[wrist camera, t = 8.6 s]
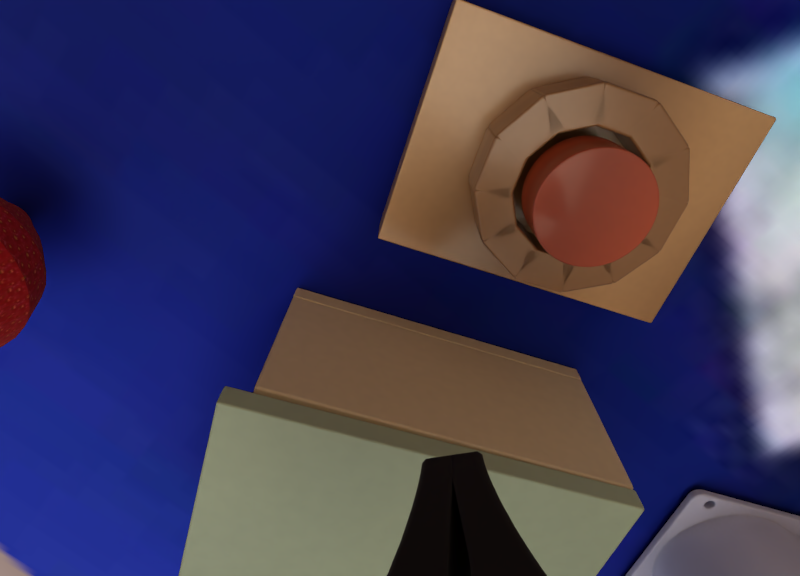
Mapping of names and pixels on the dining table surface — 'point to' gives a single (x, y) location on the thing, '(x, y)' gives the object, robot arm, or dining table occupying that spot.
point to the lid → (365, 497)
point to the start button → (589, 201)
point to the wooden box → (437, 387)
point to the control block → (541, 129)
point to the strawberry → (18, 270)
